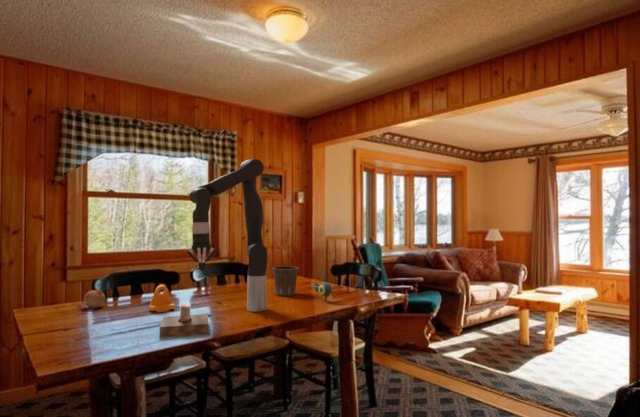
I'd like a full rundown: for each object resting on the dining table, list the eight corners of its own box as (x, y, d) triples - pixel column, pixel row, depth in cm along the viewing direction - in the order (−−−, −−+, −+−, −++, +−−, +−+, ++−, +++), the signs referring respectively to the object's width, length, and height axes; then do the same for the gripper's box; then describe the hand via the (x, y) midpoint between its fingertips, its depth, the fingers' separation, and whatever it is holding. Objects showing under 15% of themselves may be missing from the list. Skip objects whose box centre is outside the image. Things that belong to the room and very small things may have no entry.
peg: (190, 328, 164) (190, 304, 164) (189, 330, 160) (190, 306, 160) (180, 329, 162) (180, 304, 163) (180, 331, 159) (180, 306, 159)
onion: (102, 313, 200) (112, 295, 201) (85, 311, 192) (96, 293, 193) (93, 304, 205) (102, 286, 206) (76, 302, 197) (86, 284, 197)
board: (207, 323, 172) (207, 314, 172) (208, 333, 156) (208, 323, 156) (163, 326, 166) (163, 316, 166) (159, 337, 151) (159, 327, 151)
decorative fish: (319, 305, 215) (327, 304, 219) (329, 291, 209) (337, 290, 213) (308, 286, 223) (317, 285, 226) (318, 272, 216) (326, 271, 220)
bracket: (151, 312, 189) (151, 287, 189) (149, 309, 195) (149, 285, 196) (174, 310, 194) (175, 286, 195) (172, 307, 201) (172, 283, 201)
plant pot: (288, 290, 247) (288, 265, 247) (304, 294, 235) (304, 267, 235) (266, 293, 237) (266, 267, 237) (281, 298, 224) (281, 270, 225)
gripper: (215, 231, 183) (216, 268, 183) (185, 232, 179) (186, 270, 179) (216, 232, 176) (217, 270, 176) (185, 233, 172) (186, 273, 172)
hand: (202, 270), depth 178 cm, fingers closed
